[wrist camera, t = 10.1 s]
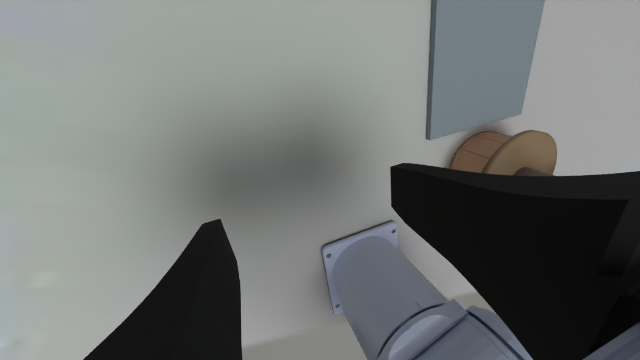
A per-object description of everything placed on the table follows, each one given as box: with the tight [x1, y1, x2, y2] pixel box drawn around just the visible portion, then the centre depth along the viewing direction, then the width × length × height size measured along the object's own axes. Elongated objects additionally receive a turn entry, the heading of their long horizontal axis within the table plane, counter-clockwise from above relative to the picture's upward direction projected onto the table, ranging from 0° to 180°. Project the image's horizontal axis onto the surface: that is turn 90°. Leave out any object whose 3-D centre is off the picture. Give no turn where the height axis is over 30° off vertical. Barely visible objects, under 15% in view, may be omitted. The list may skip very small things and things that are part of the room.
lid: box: [481, 130, 557, 176], centre depth 21 cm, size 9×9×5 cm
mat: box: [426, 0, 545, 140], centre depth 21 cm, size 11×11×1 cm
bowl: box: [449, 132, 513, 173], centre depth 25 cm, size 7×7×4 cm
